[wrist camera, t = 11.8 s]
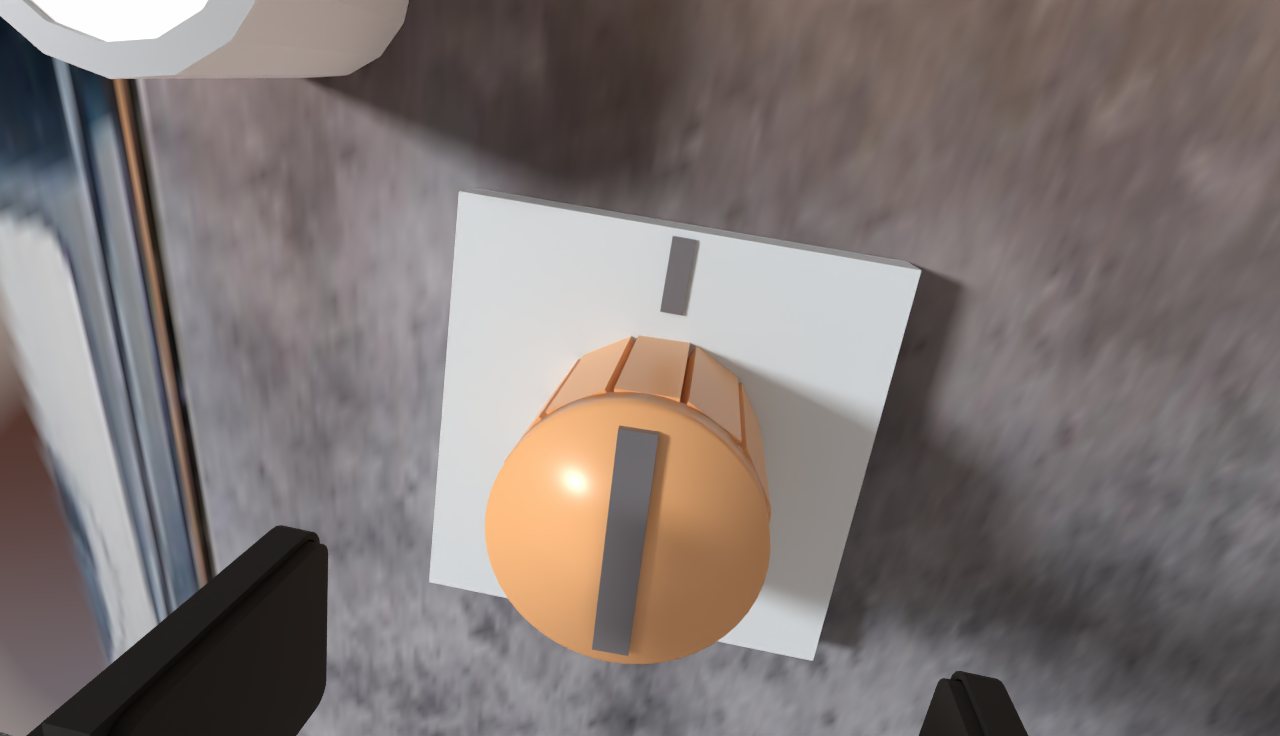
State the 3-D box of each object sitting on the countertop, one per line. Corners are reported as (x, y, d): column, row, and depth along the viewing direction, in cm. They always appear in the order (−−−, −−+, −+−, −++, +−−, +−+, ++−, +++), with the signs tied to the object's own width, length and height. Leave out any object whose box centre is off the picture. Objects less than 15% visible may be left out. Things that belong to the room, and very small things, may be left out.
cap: (739, 551, 21) (744, 692, 16) (538, 518, 21) (474, 644, 16) (776, 355, 19) (796, 436, 14) (554, 323, 20) (490, 389, 14)
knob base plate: (907, 261, 20) (973, 302, 14) (807, 629, 23) (831, 769, 18) (477, 188, 20) (392, 202, 15) (446, 556, 24) (369, 670, 19)
